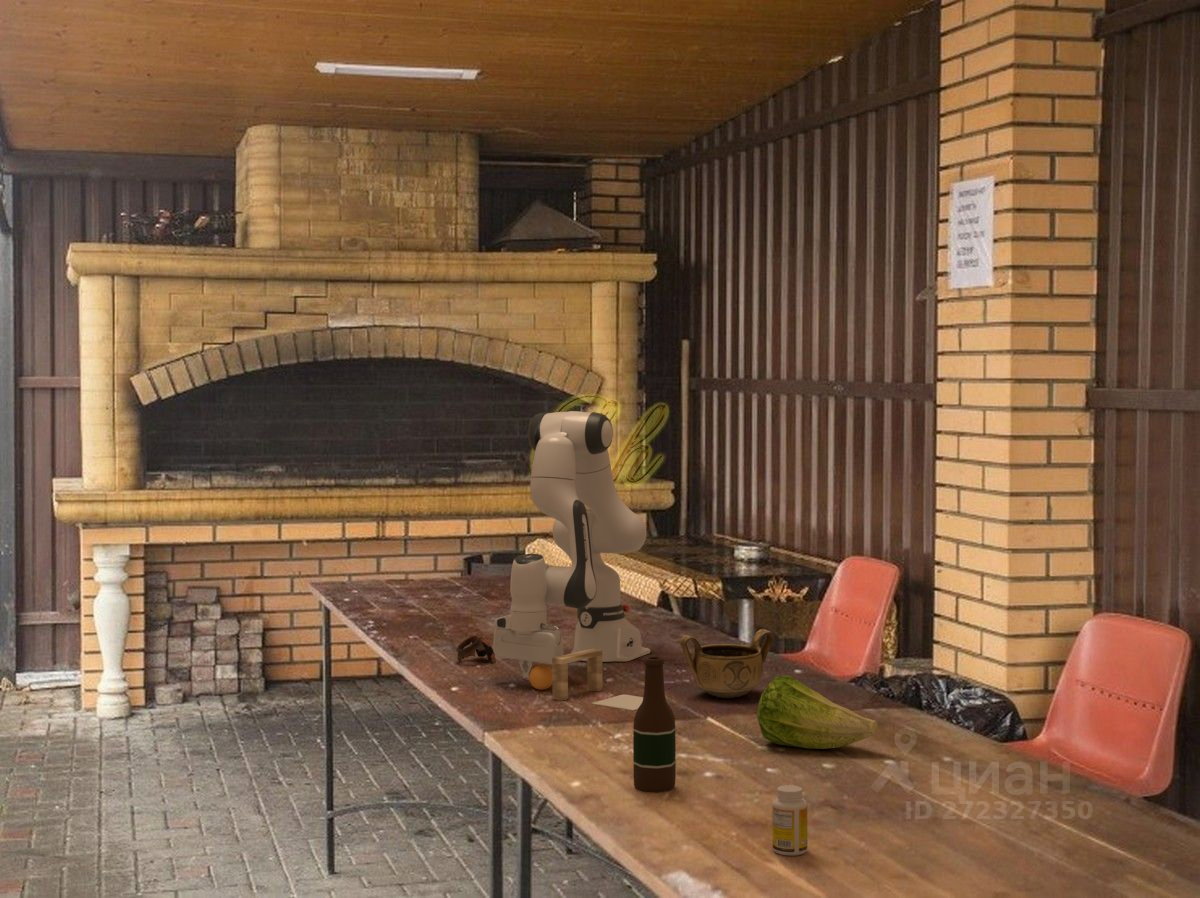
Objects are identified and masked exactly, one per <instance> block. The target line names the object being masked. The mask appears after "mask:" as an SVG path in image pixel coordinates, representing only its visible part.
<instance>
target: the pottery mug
mask: <svg viewBox="0 0 1200 898" xmlns="http://www.w3.org/2000/svg"><path fill="white" fill-rule="evenodd" d="M455 651H456V652H457V661H458V662H459V663H460V662H461V663H462V660H464V659H467V658H469V657H476V654H477V657H478V658H484V657H485V656H486V657H487V661H491V662H492V664H493V663H496V662H497V658H496V655H495V653H494V650H493V646H492V645H491V643H490V642H489V641H488V640H486V639H485V638H484V637H483V636H480V635H479V634H474V635H471V636H469V637H467V638H466V639H463V641H461V642H460V643H459V644H458V646H457V647H456V649H455Z"/></svg>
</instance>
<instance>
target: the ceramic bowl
mask: <svg viewBox="0 0 1200 898" xmlns="http://www.w3.org/2000/svg"><path fill="white" fill-rule="evenodd" d="M764 637H765V639H764V641H763V643H762V645H760V644H761V641H762V639H763V638H764ZM689 640H690V641H691V643H693V646H694V650H693V654H692V655H691V652H690V650H689V647H688V645H687V644H688V642H689ZM679 642H680V648H681V650H682V652H683V654H684V658H685V659H686V662H687V664H688V666H689V669H690V670H691V672H692V675H693V677H694V680H695V682H696V684H697V685H698V686H699V688H700V689H702V690H703V691H705V693H708V694H709V695H711V696H713V697H715V696H716V698H719V697H722V698H721V699H735V697H737V698H740V697H742V696H745V695H746V694H748V693H749V692H751V691H753V690H754V688H756V686H757V685H759V683H760V681H761V679H762V675H763V670H764V663H765V660H766V658H767V656H768V654H769V652H770V649H771V647H772V645H773V642H774V634H773V632H772V631H769V630H768V629H765V628H762V629H759V630H758V631H756V633H755V634H754V635H753V637H752V640H751V643H750V645H746V644H734V643H733V644H730V643H716V644H714V643H713V644H705V645H701V644H700V642H699V641H698V640H697V638H695V637H694V636H691V635H687V634H686V635H683V636H682V637H681V639H680V641H679Z"/></svg>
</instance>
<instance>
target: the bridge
mask: <svg viewBox="0 0 1200 898" xmlns="http://www.w3.org/2000/svg"><path fill="white" fill-rule="evenodd" d="M583 659H587V661H586V662H587V667H586V668H587V669H586V670H587V671H586V672H587V673H586V674H587V681H586V682H587V683H586V685H587V691H591V692H602V691H603V687H604V686H603V682H604V681H603V662H602V650H599V649H589V650H584V651H580V652H576V653H571V652H570V653H568V654H564V655H563V656H558V657H554V658H552V665H551V669H552V685H551V686H552V700H554V699H556V700H557V701H560V700H561V701H562V702H563V700H564V701H567V699H569V685H568V684H569V682H568V681H569V676H568V675H569V674H568V673H569V670H568V669H569V668H568V667H569V664H570V663H574V662H579V661H582V660H583ZM556 700H555V701H556Z"/></svg>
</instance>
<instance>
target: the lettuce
mask: <svg viewBox="0 0 1200 898" xmlns="http://www.w3.org/2000/svg"><path fill="white" fill-rule="evenodd" d="M756 711H757V713H756V716H757V721H758V725H759V728H760V732H761V734H762V737H763V738H764V739H766V740H768V741H770V742H772V743H774V744H776V745H780V746H785V745H786V746H787V747H793V746H794V748H804V749H815V750H816V749H817V750H818V749H819V750H826V749H836V748H837V749H838V748H840V747H841V748H842V747H845V746H849V745H852V744H854V743H857V742H859V741H860V742H861V741H862V740H865V739H868V738H870V737H871V736H874V735H875V734H876V733H877V730H878V722H877V720H875V719H871V718H867V717H863V716H861V715H859V714H857V713H856V712H854V711H852V710H851V709H849V708H846V707H844V706H841V705H839V704H837V703H835V702H833V701H831V700H829V699H828V698H826V697H825V696H823V695H822V694H820V693H819V692H817V691H815V690H813V689H812V688H810V687H809V686H807V685H805V684H804V683H803V682H800V681H799V680H798V679H796V678H794V677H793V676H791V675H788V674H787V675H775V677H774V678H773V679H772V680H771V681H770V682H769V683H768V685H767V686H766V687H765V688H764V690H763V692H762V693H761V694H760V698H759V701H758V706H757V710H756ZM786 746H785V747H786Z"/></svg>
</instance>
